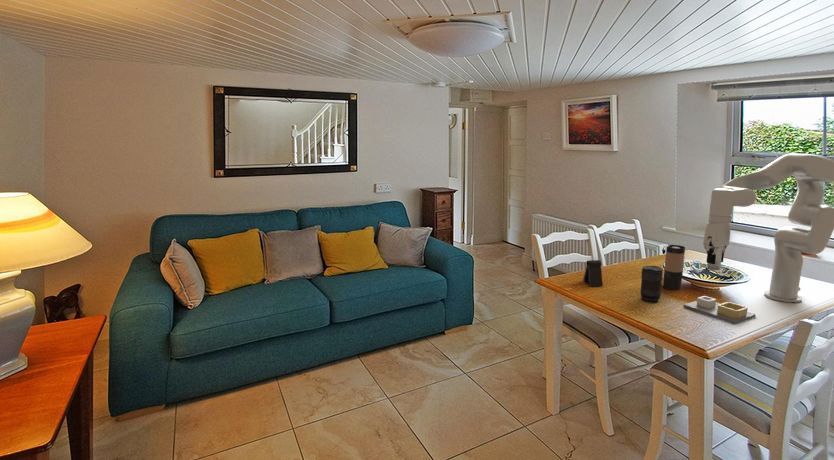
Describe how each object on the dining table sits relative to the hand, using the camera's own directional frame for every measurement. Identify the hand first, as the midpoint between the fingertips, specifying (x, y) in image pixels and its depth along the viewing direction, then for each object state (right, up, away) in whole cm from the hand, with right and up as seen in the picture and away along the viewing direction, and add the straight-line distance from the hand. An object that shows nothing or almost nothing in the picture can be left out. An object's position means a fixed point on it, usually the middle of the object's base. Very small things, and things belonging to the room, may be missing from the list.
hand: (714, 262), depth 181 cm
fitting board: (0, -20, -3) cm, 20 cm away
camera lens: (-21, -18, +12) cm, 30 cm away
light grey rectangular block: (0, -3, +1) cm, 3 cm away
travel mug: (-2, -14, +27) cm, 31 cm away
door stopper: (-37, -14, +34) cm, 52 cm away
